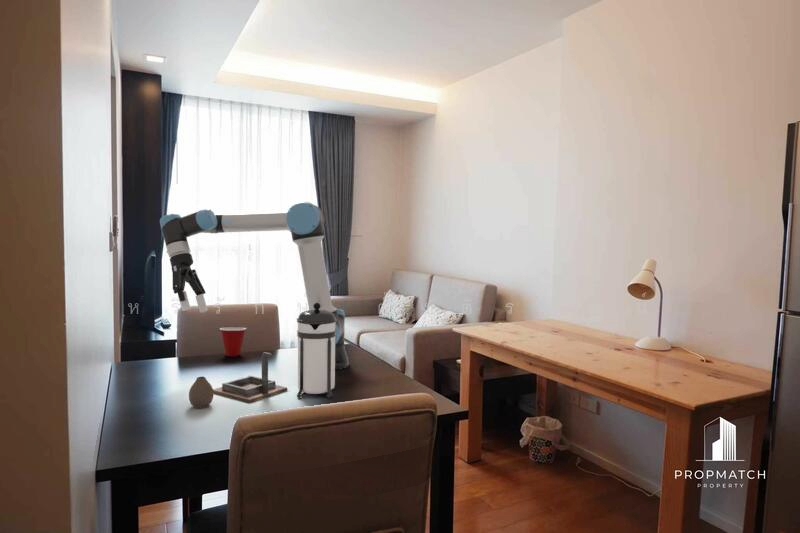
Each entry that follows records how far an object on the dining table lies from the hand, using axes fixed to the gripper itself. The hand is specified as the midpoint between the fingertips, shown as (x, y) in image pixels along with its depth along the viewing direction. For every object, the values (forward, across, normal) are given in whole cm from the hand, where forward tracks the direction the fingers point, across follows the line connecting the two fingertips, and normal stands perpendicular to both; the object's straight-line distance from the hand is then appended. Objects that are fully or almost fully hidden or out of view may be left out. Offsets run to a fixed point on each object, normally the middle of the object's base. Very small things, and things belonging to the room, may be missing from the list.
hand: (195, 310), depth 183 cm
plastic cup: (+16, -40, -7) cm, 44 cm away
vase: (+33, +25, +5) cm, 42 cm away
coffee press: (+41, +8, +35) cm, 54 cm away
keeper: (+33, +10, +14) cm, 37 cm away
